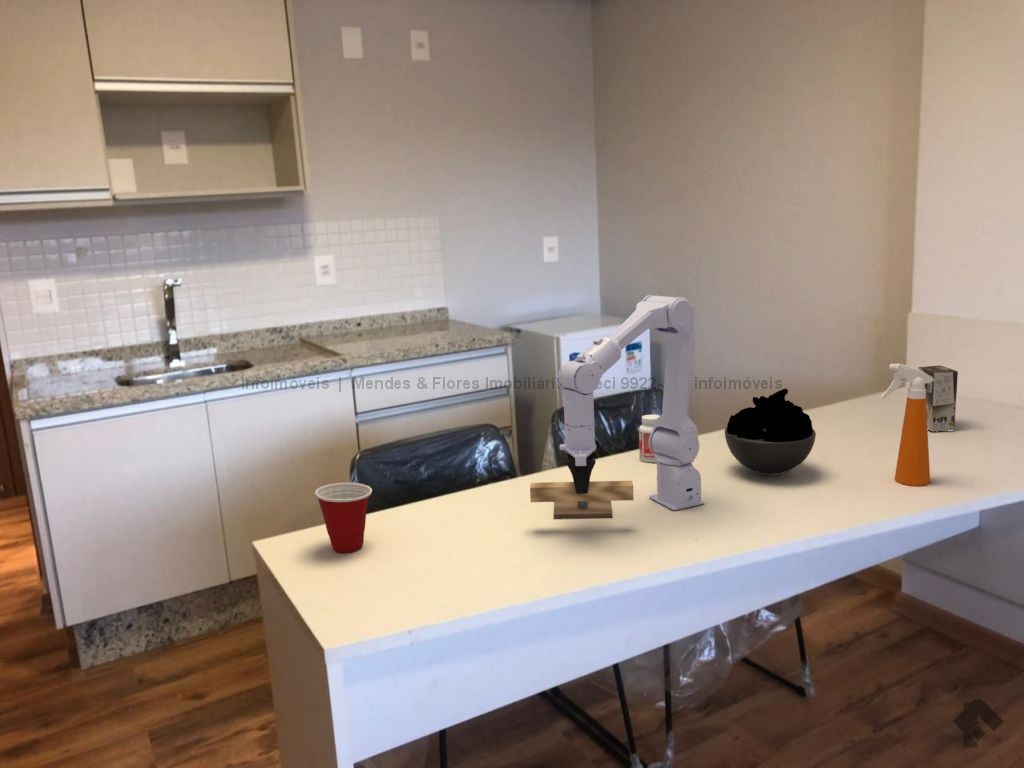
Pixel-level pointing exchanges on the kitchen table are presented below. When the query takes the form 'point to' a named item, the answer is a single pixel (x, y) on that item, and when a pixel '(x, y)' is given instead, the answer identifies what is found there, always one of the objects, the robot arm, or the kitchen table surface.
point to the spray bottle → (912, 427)
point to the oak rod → (568, 494)
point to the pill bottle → (646, 438)
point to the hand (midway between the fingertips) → (582, 490)
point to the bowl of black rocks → (770, 435)
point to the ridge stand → (582, 509)
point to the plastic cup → (344, 514)
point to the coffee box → (940, 397)
